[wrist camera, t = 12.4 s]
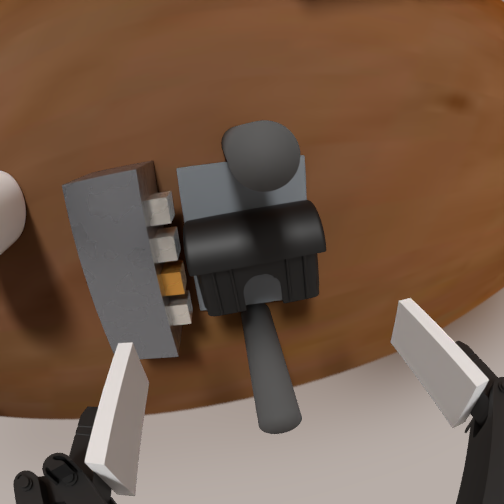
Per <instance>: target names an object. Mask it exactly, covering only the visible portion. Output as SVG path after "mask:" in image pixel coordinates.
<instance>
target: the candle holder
mask: <svg viewBox="0 0 504 504" xmlns="http://www.w3.org/2000/svg"><path fill="white" fill-rule="evenodd" d="M25 220H26V206H25V200H24V196H23V193H22V191H21V189H20V187H19V185H18V183H17V182H16V181H15V179H14V178H13V177H12V176H11V175H9V174H8V173H6V172H4V171H0V255H1V254H2V253H3V252H4V251H6V250H7V249H8V248H9V247H10V246H11V245H12V244H13V243H14V242H15V241H16V240H17V239H18V238H19V237H20V235H21V233H22V231H23V228H24V225H25Z"/></svg>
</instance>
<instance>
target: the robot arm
mask: <svg viewBox="0 0 504 504" xmlns="http://www.w3.org/2000/svg"><path fill="white" fill-rule="evenodd" d="M391 343H392V345H393V346H394V347H395V349H396V350H397V351H398V353H399V354H400V355H401V357H402V358H403V359H404V361H405V362H406V363H407V365H408V366H409V367H410V369H411V370H412V372H413V373H414V374H415V375H416V377H417V378H418V380H419V381H420V382H421V384H422V385H423V387H424V388H425V389H426V391H427V392H428V394H429V395H430V396H431V398H432V399H433V400H434V402H435V403H436V405H437V406H438V408H439V409H440V411H441V412H442V413H443V415H444V416H445V418H446V419H447V420H448V422H449V424H450V425H451V427H452V428H454V427H456V426H458V425H460V424H462V423H463V422H465V421H466V419H467V417H468V416H469V414H471V415H472V416H473V419H472V420H471V422H470V423H469V425H468V426H467V428H466V430H465V433H467V431H468V430H469V428H470V435H469V443H468V449H467V456H466V461H465V467H464V472H463V477H462V481H461V486H460V490H459V494H458V498H457V502H456V504H504V377H500V378H498V377H497V376H496V375H495V374H494V373H493V372H492V371H491V370H490V369H489V368H488V366H487V365H486V364H485V363H484V362H483V361H482V360H481V359H479V357H478V356H477V355H476V354H474V352H473V351H472V349H470V348H469V346H468V345H466V344H464V343H462V342H460V341H457V342H454V341H453V340H452V339H451V338H450V337H449V336H448V335H447V334H446V333H445V332H444V331H443V330H442V329H441V328H440V327H439V326H438V325H437V324H436V323H435V322H434V321H433V320H432V319H431V318H430V317H429V316H428V315H427V314H426V313H425V312H424V311H423V310H422V309H421V308H420V307H419V306H418V305H417V304H416V303H415V302H414V301H413V300H412V299H411V298H409V299H405V300H401V301H399V303H398V309H397V314H396V319H395V324H394V329H393V334H392V339H391ZM148 387H149V381H148V379H147V377H146V374H145V372H144V369H143V367H142V364H141V362H140V360H139V357H138V354H137V352H136V349H135V347H134V344H133V342H130V343H118V345H117V348H116V351H115V354H114V357H113V360H112V363H111V367H110V370H109V373H108V376H107V379H106V383H105V386H104V389H103V393H102V396H101V399H100V403H99V406H98V407H87V408H86V409H85V411H84V412H83V413H82V415H81V417H80V420H79V423H78V427H77V430H76V435H75V437H74V441H73V444H72V448H71V452H70V455H69V456H67V455H65V454H63V453H55V454H52V455H50V456H49V457H47V459H46V460H45V462H44V463H43V468H42V469H43V473H44V475H45V476H42V477H38V476H36V475H35V474H34V473H33V472H30V471H22V472H20V473H19V474H18V475H17V476H16V477H15V480H14V492H15V499H16V504H116V502H115V501H114V500H113V498H112V497H111V489H112V490H113V491H114V492H115V493H116V494H119V495H129V496H135V491H136V480H137V469H138V460H139V451H140V442H141V435H142V427H143V420H144V413H145V406H146V399H147V393H148Z"/></svg>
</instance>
